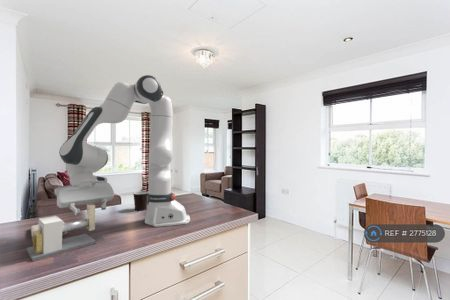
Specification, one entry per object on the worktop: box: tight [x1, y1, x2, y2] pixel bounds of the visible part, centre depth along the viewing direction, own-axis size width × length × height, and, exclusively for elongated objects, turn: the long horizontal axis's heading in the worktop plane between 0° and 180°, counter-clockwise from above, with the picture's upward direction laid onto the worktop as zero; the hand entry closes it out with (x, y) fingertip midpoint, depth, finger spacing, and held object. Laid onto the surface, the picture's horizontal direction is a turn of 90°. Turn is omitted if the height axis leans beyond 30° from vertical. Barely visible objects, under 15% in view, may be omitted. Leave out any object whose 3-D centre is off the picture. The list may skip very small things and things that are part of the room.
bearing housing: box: [26, 215, 97, 262], centre depth 81 cm, size 18×11×11 cm, turn 139°
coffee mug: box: [133, 191, 148, 212], centre depth 131 cm, size 12×9×10 cm
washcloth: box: [29, 219, 68, 242], centre depth 95 cm, size 12×18×3 cm, turn 44°
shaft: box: [62, 203, 96, 232], centre depth 83 cm, size 15×3×10 cm, turn 139°
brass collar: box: [32, 230, 43, 254], centre depth 76 cm, size 2×6×6 cm, turn 50°
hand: (91, 211), depth 88 cm, fingers open, 8 cm apart
